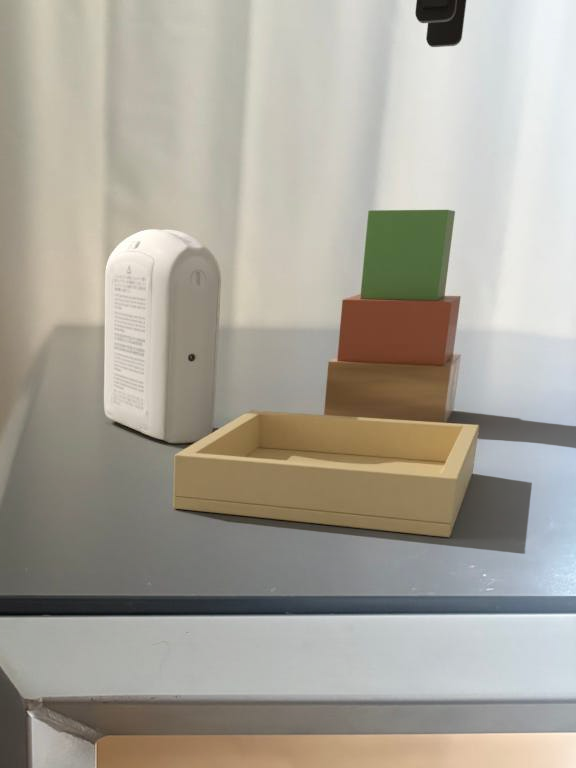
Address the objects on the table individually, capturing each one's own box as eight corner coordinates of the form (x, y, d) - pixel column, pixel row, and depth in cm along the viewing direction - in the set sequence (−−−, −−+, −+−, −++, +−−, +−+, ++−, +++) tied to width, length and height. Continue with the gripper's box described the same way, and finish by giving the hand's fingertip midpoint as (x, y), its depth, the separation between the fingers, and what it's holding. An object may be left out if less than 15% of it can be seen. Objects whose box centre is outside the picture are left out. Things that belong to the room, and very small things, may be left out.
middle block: (354, 350, 74) (360, 293, 73) (453, 354, 72) (460, 296, 70) (336, 361, 68) (342, 299, 67) (443, 365, 66) (451, 301, 64)
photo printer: (223, 441, 63) (233, 228, 58) (162, 446, 61) (167, 228, 56) (150, 415, 71) (154, 229, 67) (96, 420, 70) (95, 229, 65)
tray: (248, 454, 59) (250, 409, 58) (472, 472, 54) (479, 424, 53) (172, 508, 47) (174, 454, 46) (449, 538, 43) (457, 478, 42)
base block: (344, 403, 76) (349, 349, 75) (453, 410, 73) (461, 354, 72) (323, 420, 69) (328, 361, 68) (442, 428, 67) (450, 366, 65)
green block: (371, 295, 71) (379, 211, 69) (444, 296, 70) (455, 210, 67) (360, 299, 67) (368, 210, 65) (437, 300, 65) (448, 209, 63)
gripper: (553, -380, 49) (502, 7, 55) (545, -256, 61) (504, 49, 67) (394, -350, 51) (362, 17, 57) (417, -237, 63) (389, 55, 69)
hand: (439, 34), depth 62 cm, fingers open, 8 cm apart
